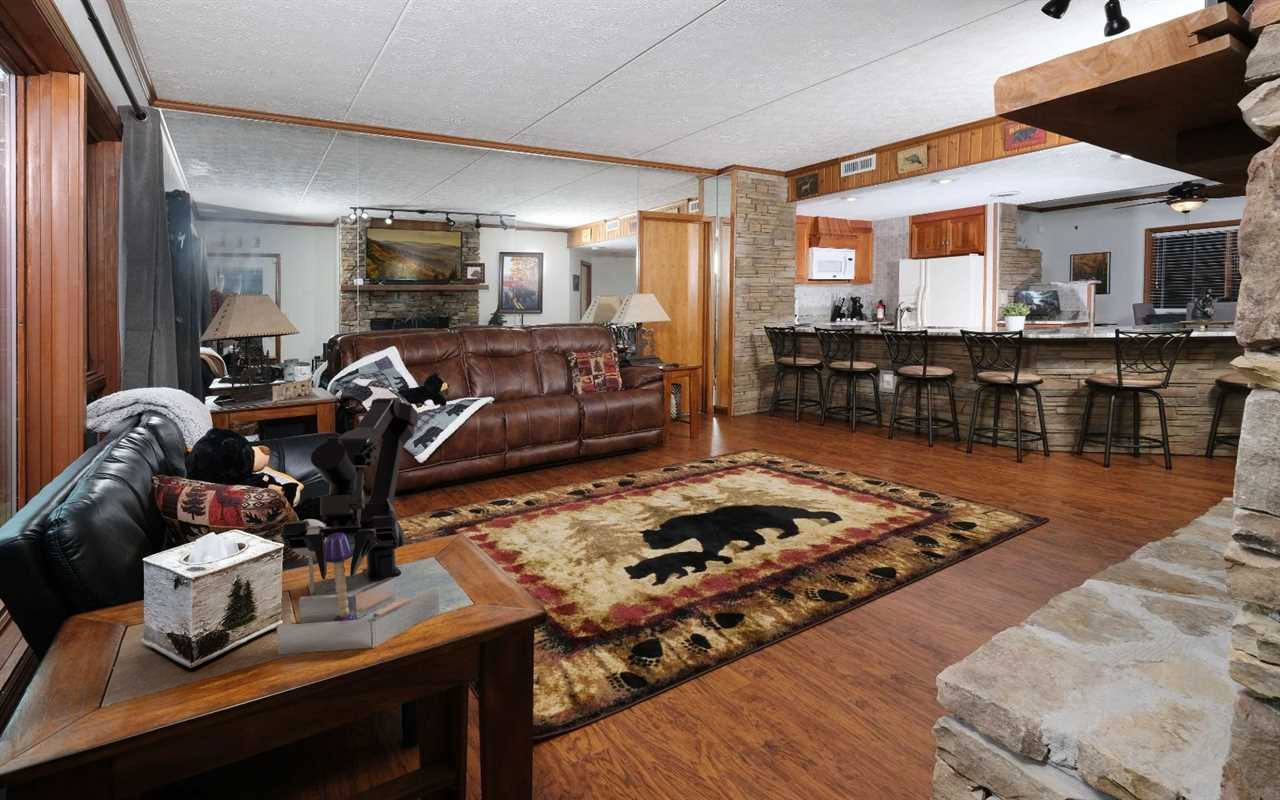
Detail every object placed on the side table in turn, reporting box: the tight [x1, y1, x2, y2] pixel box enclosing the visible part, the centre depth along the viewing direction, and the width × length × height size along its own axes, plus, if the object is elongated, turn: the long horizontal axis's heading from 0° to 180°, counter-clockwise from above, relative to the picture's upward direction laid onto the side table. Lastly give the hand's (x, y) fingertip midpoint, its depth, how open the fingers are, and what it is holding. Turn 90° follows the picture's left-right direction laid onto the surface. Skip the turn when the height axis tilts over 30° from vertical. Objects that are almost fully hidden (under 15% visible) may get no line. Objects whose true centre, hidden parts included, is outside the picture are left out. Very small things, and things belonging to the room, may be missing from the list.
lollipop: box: [292, 518, 327, 594], centre depth 135 cm, size 7×7×15 cm
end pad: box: [373, 598, 409, 617], centre depth 128 cm, size 7×7×1 cm
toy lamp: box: [323, 533, 358, 622], centre depth 118 cm, size 5×5×17 cm
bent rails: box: [276, 576, 440, 655], centre depth 121 cm, size 18×27×4 cm, turn 126°
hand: (337, 577), depth 117 cm, fingers closed on toy lamp, 4 cm apart
